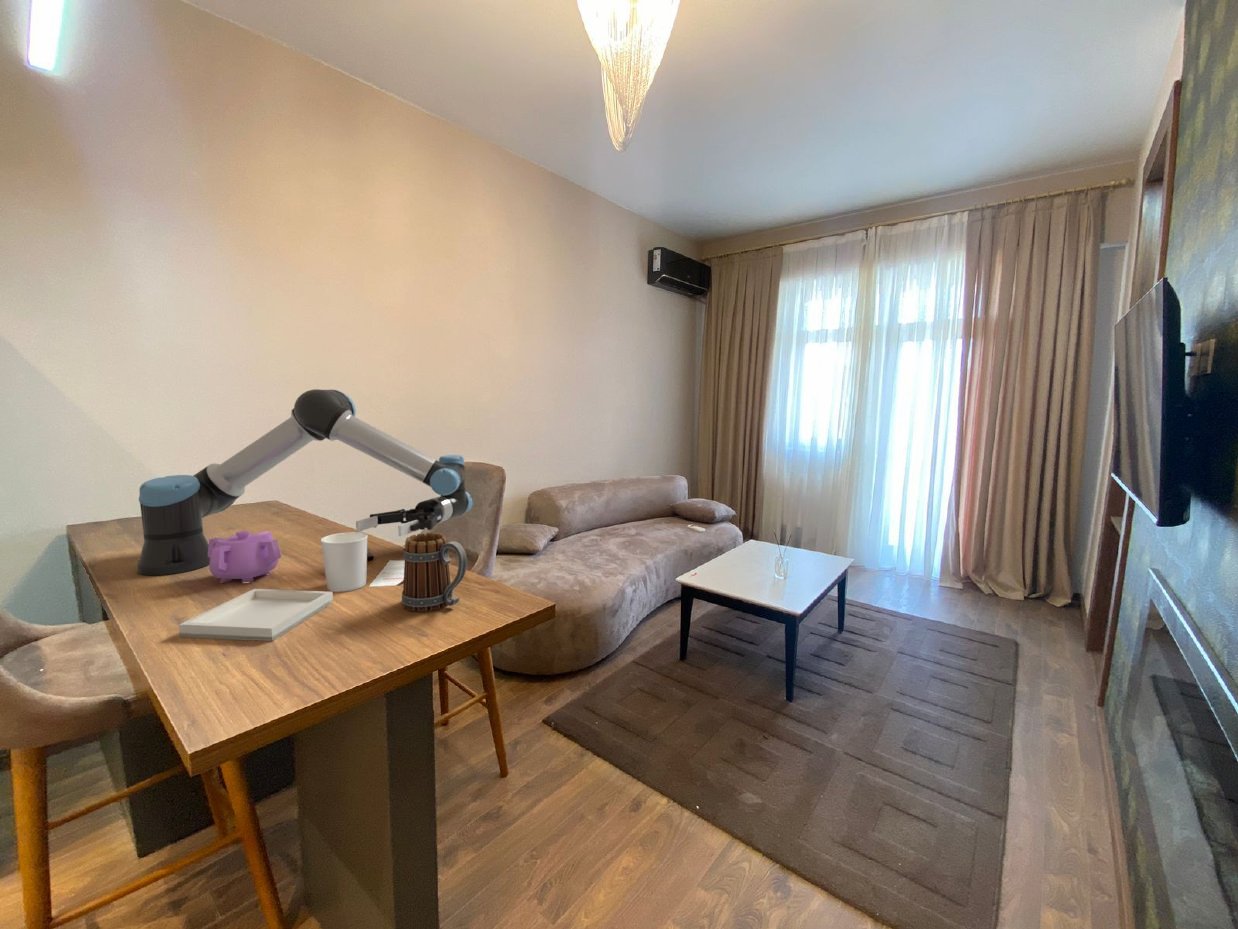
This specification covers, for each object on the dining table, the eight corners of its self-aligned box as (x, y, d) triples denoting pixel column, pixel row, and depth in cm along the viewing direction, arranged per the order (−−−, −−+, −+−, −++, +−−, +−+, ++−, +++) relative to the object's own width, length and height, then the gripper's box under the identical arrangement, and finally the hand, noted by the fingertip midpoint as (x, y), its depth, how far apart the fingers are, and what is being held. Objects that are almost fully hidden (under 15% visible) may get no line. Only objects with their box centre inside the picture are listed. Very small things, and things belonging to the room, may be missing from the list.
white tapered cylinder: (337, 596, 114) (335, 545, 112) (315, 587, 119) (312, 538, 117) (378, 583, 122) (376, 536, 120) (355, 576, 127) (353, 530, 126)
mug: (391, 608, 108) (388, 540, 106) (426, 591, 118) (424, 529, 116) (448, 621, 102) (446, 549, 100) (481, 602, 112) (479, 537, 110)
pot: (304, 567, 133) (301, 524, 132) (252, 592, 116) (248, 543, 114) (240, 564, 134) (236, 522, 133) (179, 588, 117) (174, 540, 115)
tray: (180, 637, 93) (179, 624, 93) (255, 599, 111) (254, 588, 111) (272, 641, 92) (271, 628, 92) (333, 602, 110) (332, 591, 110)
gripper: (469, 527, 145) (418, 547, 125) (399, 520, 153) (341, 538, 133) (468, 501, 144) (417, 518, 124) (398, 496, 152) (339, 510, 132)
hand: (377, 528), depth 128 cm, fingers open, 13 cm apart
